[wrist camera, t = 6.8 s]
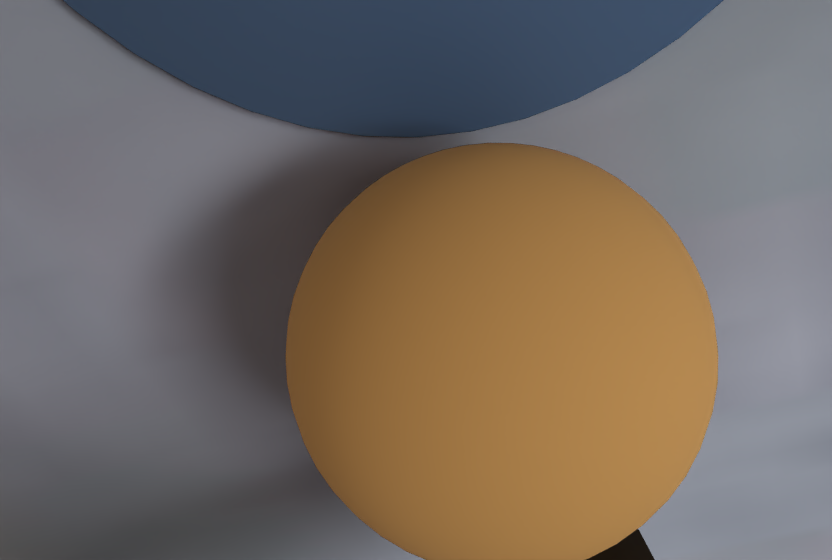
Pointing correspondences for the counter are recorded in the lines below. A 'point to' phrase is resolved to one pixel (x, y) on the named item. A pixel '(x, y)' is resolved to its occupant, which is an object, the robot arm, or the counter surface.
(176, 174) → the counter surface
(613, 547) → the robot arm
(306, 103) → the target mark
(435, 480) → the ball
